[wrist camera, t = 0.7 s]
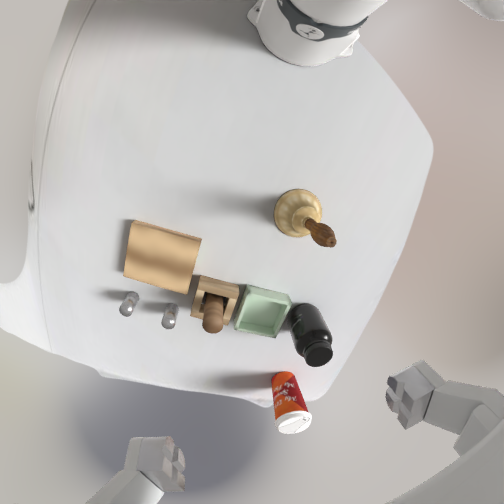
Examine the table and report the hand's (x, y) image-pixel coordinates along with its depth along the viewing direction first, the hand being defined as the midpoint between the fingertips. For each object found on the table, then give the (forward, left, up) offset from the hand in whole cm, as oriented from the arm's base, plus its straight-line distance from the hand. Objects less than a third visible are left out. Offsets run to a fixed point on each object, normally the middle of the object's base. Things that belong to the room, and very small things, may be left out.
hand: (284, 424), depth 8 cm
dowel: (+17, +1, -38) cm, 42 cm away
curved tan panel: (+12, -10, -39) cm, 42 cm away
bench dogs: (+22, -10, -38) cm, 46 cm away
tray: (+17, +10, -38) cm, 43 cm away
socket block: (+17, +1, -38) cm, 42 cm away
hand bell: (-2, +10, -39) cm, 40 cm away
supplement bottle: (+17, +19, -39) cm, 46 cm away
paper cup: (+35, +22, -39) cm, 57 cm away
